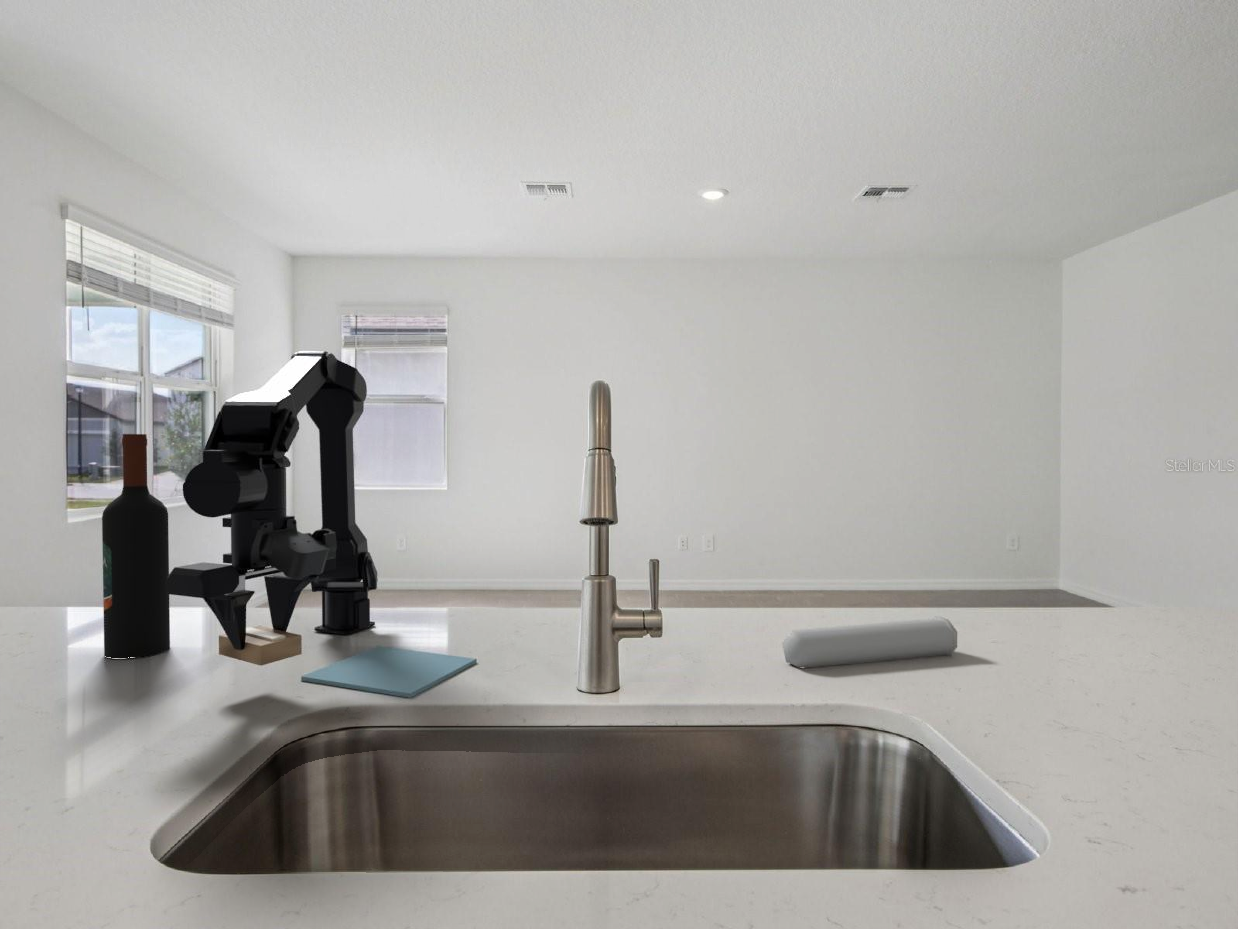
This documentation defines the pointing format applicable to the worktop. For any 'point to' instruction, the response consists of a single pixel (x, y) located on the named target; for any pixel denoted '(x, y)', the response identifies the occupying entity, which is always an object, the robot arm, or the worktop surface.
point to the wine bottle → (135, 563)
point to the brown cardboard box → (263, 646)
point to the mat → (390, 671)
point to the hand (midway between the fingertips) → (260, 643)
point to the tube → (870, 642)
